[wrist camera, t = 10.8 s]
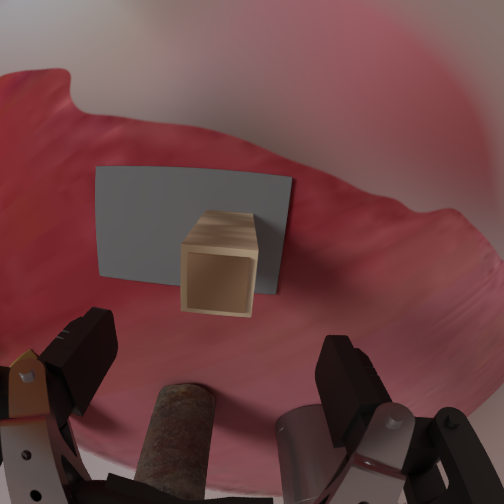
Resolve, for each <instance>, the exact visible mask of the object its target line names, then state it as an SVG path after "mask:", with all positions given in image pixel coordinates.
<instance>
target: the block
mask: <svg viewBox="0 0 504 504" xmlns="http://www.w3.org/2000/svg"><path fill="white" fill-rule="evenodd" d="M258 252H259V250H258V243H257V237H256V231H255V224H254V218H253V214H251V213H241V212H229V211H217V210H206V211H205V212H204V214H203V215H202V216H201V217H200V219H199V220H198V221H197V223H196V224H195V225H194V227H193V228H192V230H191V231H190V232H189V234H188V235H187V236H186V238H185V239H184V240H183V242H182V243H181V311H186V312H195V313H205V314H215V315H226V316H238V317H251V312H252V304H253V295H254V287H255V278H256V269H257V261H258Z"/></svg>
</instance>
